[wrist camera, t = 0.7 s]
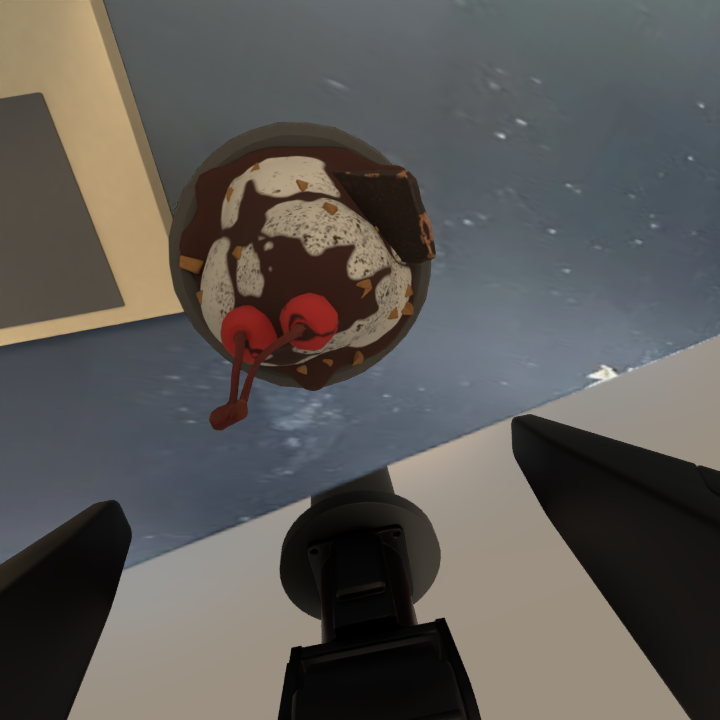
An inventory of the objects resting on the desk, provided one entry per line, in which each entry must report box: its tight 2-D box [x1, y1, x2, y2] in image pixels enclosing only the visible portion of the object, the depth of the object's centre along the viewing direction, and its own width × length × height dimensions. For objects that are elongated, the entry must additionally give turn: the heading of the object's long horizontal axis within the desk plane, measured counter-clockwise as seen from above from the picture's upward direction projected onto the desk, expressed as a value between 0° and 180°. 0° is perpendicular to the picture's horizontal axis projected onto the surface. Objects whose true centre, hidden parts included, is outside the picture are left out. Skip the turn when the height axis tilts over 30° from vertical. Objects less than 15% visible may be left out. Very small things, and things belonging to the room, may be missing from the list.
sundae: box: [168, 122, 436, 430], centre depth 13 cm, size 7×7×15 cm
